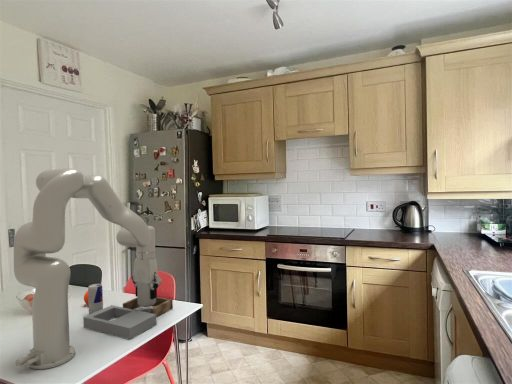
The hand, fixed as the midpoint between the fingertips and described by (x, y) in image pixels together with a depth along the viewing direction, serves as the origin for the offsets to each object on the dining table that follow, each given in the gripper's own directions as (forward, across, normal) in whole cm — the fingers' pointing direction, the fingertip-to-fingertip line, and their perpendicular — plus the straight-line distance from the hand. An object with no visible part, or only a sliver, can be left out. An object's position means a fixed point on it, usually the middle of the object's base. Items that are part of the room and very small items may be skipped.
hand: (146, 296), depth 139 cm
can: (+4, 0, 0) cm, 4 cm away
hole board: (+7, +1, -15) cm, 16 cm away
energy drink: (+7, -18, -10) cm, 22 cm away
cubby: (+6, 0, +1) cm, 6 cm away
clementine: (+7, -29, -3) cm, 30 cm away
